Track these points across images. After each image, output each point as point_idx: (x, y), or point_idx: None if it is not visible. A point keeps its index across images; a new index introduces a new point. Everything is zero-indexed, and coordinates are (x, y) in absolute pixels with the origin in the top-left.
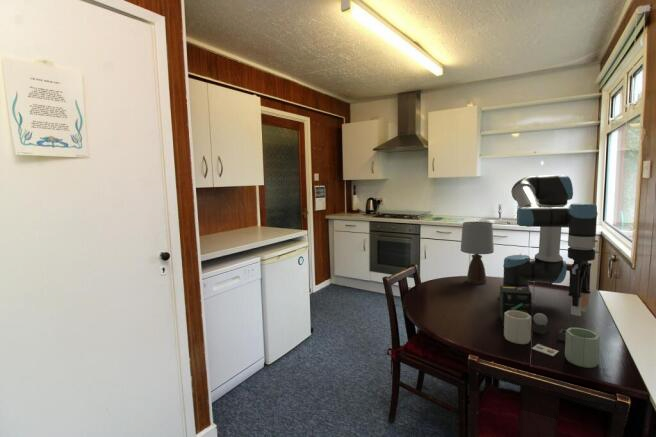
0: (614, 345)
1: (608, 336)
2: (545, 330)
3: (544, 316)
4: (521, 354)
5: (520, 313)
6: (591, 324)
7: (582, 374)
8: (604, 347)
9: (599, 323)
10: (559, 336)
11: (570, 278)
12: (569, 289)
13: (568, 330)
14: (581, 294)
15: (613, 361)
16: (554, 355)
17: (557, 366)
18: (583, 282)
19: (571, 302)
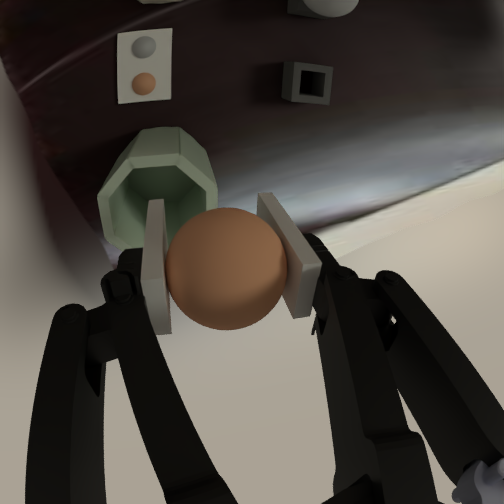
0: (351, 197)
1: (402, 173)
2: (313, 15)
3: (336, 3)
4: (51, 40)
5: None
6: (454, 126)
7: (83, 203)
8: (320, 182)
9: (466, 142)
10: (287, 66)
11: (31, 487)
12: (43, 359)
13: (138, 165)
14: (227, 323)
15: None
16: (129, 102)
17: (66, 143)
18: (333, 388)
19: (145, 244)
